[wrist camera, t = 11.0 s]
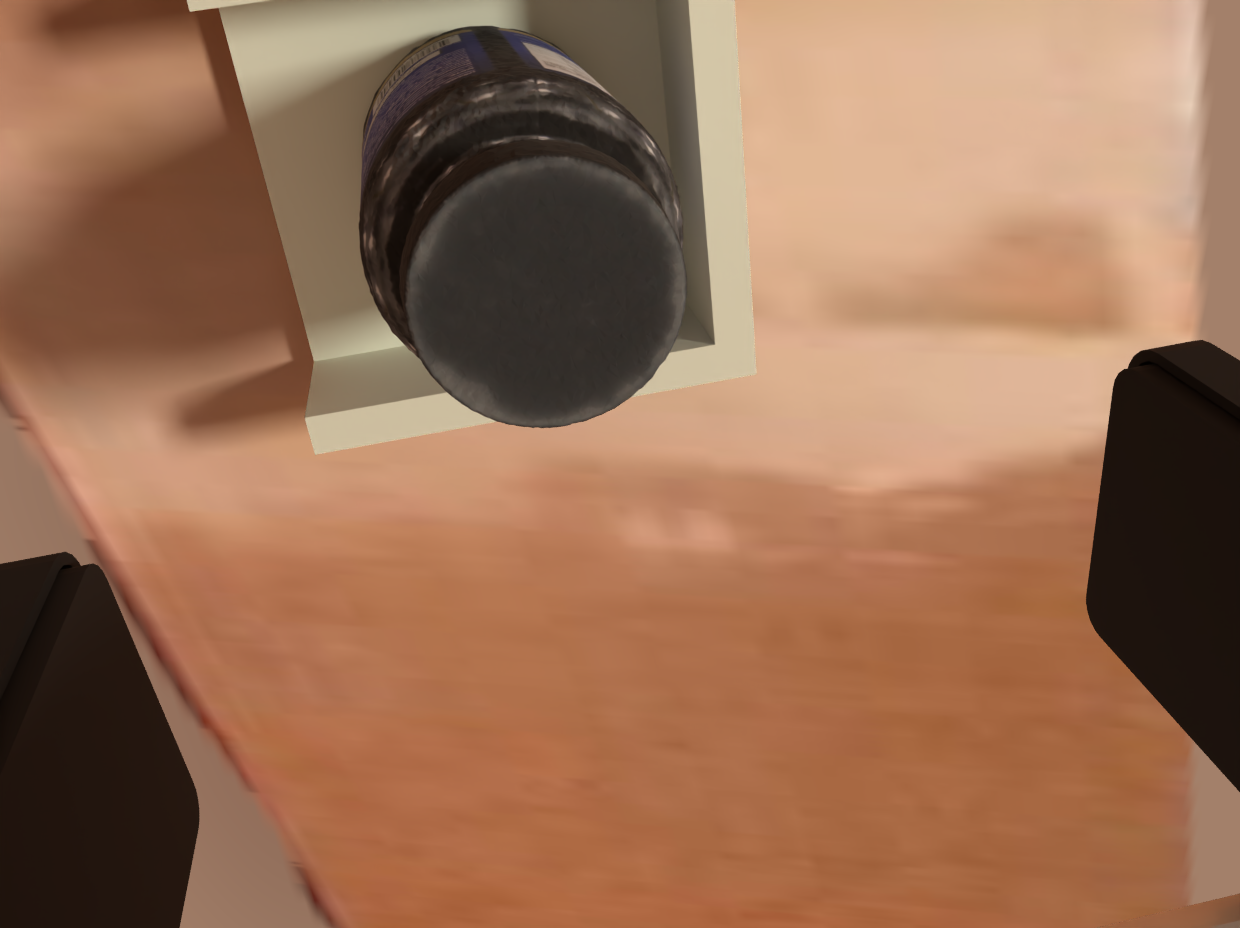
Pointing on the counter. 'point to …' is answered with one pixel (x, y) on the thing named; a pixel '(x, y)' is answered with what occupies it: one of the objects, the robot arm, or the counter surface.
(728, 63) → the holder
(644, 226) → the pill bottle
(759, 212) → the counter surface
